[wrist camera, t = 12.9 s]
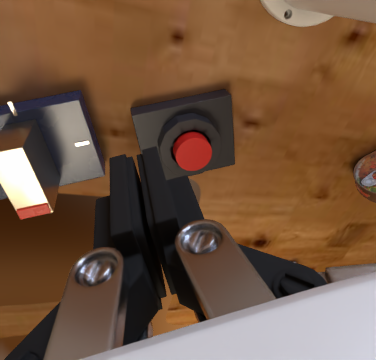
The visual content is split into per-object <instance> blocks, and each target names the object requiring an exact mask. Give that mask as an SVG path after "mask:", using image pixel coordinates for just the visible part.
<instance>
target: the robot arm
mask: <svg viewBox="0 0 376 360" xmlns="http://www.w3.org/2000/svg"><path fill="white" fill-rule="evenodd" d="M260 1H261V3H262V5H263V7H264V8H265V9H266V10H267V11H268V13H269V14H270V15H272V16H273V17H274V18H276V19H277V20H278V21H281V22H283V23H285V24H288V25H293V26H298V27H308V26H313V25H317V24H320V23H322V22H325V21H327V20H329V19H330V18H332V17H334V16H339V17H344V18H350V19H355V20H361V21H366V22H371V23H376V0H260ZM285 12H286V15H285V16H284V14H285ZM137 160H138V167H139V173H140V178H139V175H138V172H137V169H136V166H135V163H134V160H133V157H128V158H127V157H126V155H125V154H124V155H120V156H116V157H112V158H110V196H106V197H102V198H99V199H97V200H96V208H95V230H94V247H93V250H91V251H89V252H87V253H86V254H84V255H83V256H82V257H80V258H79V259H78V260H77V261H76V262H75V264H74V265H73V266H72V269H71V271H70V273H69V276H68V279H67V283H66V286H65V289H64V293H63V296H62V299H61V302H60V303H59V304H58V305H57V306H56V307H55V308H54V309H53V310H52V311H51V312H50V313H49V314H48V315H47V316H46V317H45V318H44V319H43V320H42V321H41V322H40V323H39V324H38V325H37V326H36V327H35V328H34V329H33V330H32V331H31V332H30V333H29V334H28V335H27V336H26V337H25V339H24V340H23V341H22V342H21V343H20V344H19V345H18V346H17V347H16V348H15V349H14V350H13V351H12V352H11V353H10V354H9V355H8V356H7V357H6V358H5V360H376V263H375V264H363V265H352V266H340V267H328V268H326V270H325V272H318V273H317V272H316V271H315V270H313V269H310V268H308V267H306V266H303V265H300V264H297V263H294V262H291V261H288V260H285V259H282V258H279V257H276V256H273V255H270V254H267V253H264V252H261V251H258V250H255V249H252V248H249V247H246V246H243V245H240V244H237V243H236V242H235V241H234V239H233V238H232V237H231V235H230V234H229V232H228V231H227V230H226V228H225V227H224V226H223V225H222V224H220V223H218V222H216V221H214V220H208V219H204V217H203V214H202V212H201V209H200V207H199V204H198V202H197V199H196V197H195V194H194V192H193V189H192V186H191V184H190V182H189V179H188V177H187V175H184V176H180V177H176V178H173V179H169V180H166V178H165V175H164V171H163V168H162V164H161V161H160V157H159V154H158V150H157V147H156V146H154V147H151V148H147V149H143V150H142V154H140V155H137ZM140 179H141V182H140ZM161 265H162V268H163V271H164V274H165V277H166V280H167V283H168V285H169V288H170V292H171V294H172V295H173V294H177V297H178V300H179V303H180V304H182V305H184V306H186V307H188V308H190V309H192V310H194V313H195V316H196V319H197V321H198V323H196V324H193V325H190V326H187V327H183V328H180V329H177V330H173V331H170V332H167V333H164V334H160V335H158V336H154V337H153V327H152V322H151V320H152V319H153V317H154V316H155V314H156V313H157V312H158V310H160V309H162V303H161V298H163V297H166V289H165V284H164V279H163V273H162V268H161Z"/></svg>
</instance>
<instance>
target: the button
mask: <svg viewBox="0 0 376 360" xmlns="http://www.w3.org/2000/svg"><path fill="white" fill-rule="evenodd" d="M173 153H174V156H175V159H176V161H177V163H178V165H179V166H180V167H181V168H183V169H185V170H188V171H195V170H199V169H201V168H203V167H204V166H206V165H207V164H208V162H209V161H210V159H211V156H212V148H211V146H210V144H209V142H208V141H207V139H206V138H205V136H204V135H202V134H201V133H199V132H194V131H190V132H186V133H184V134H182V135H180V136H179V137H178V138H177V139H176V141H175V143H174V145H173Z"/></svg>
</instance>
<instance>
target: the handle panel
mask: <svg viewBox="0 0 376 360" xmlns="http://www.w3.org/2000/svg"><path fill="white" fill-rule="evenodd" d="M34 119H36V121H37V123H38V126H39V128H40V131H41V133H42V135H43V138H44V140H45V142H46V145H47V147H48V149H49V152H50V154H51V156H52V159H53V161H54V164H55V166H56V168H57V171H58V173H59V175H60V178H61V179H60V184H59V186H62V185H67V184H71V183H76V182H80V181H85V180H89V179H93V178H98V177H102V176H105V161H104V158H103V155H102V152H101V149H100V146H99V143H98V140H97V137H96V134H95V131H94V128H93V125H92V122H91V119H90V116H89V113H88V110H87V107H86V104H85V101H84V98H83V95H82V92H81V90H79V91H74V92H69V93H64V94H59V95H54V96H49V97H43V98H38V99H33V100H28V101H23V102H18V103H12V101H8V105H3V106H0V130H1V129H2V128H3V126H4V125H8V124H13V123H19V122H24V121H29V120H34ZM5 198H8V196H7V194H6V193H5V191H4V189H3V187H2V185H1V184H0V199H5Z"/></svg>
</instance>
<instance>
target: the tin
mask: <svg viewBox="0 0 376 360" xmlns="http://www.w3.org/2000/svg"><path fill="white" fill-rule="evenodd" d="M354 179H355V184H356V187H357V189H358V191H359V192H360V193H361V194H362V195H363V196H364V197H365V198H367V199H369V200H370V201H372V202H375V203H376V151H374V152H372V153H370V154H368V155H366V156H365V157H363V158H362V159H361V160H359V162H358V163H357V164H356V166H355V168H354Z"/></svg>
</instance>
